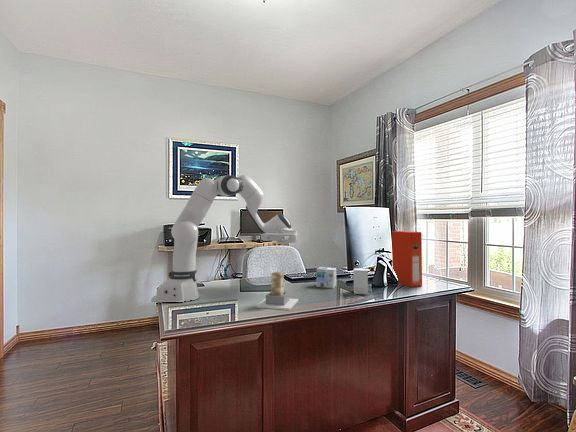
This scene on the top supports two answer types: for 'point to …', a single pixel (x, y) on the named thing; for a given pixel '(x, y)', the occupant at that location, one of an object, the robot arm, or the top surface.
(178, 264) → the robot arm
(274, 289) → the maple post
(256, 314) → the top surface
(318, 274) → the light bulb box
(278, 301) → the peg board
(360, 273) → the supplement box
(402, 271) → the file binder
